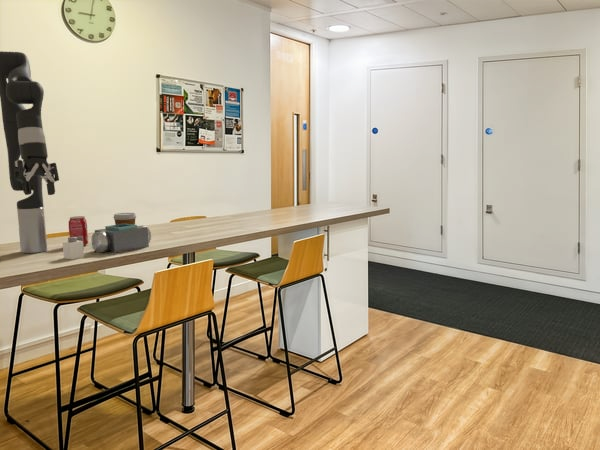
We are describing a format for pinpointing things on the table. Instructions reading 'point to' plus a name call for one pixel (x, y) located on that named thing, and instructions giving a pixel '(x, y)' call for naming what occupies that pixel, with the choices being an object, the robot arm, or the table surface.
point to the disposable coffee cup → (124, 218)
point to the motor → (120, 238)
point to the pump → (73, 248)
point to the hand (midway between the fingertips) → (40, 194)
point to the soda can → (78, 229)
